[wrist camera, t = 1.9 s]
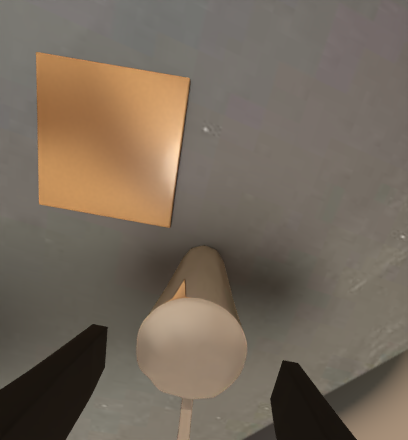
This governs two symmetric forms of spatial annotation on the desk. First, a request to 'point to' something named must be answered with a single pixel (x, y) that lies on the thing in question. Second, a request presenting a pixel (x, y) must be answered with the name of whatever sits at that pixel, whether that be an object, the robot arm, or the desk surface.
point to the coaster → (109, 138)
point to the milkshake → (193, 334)
